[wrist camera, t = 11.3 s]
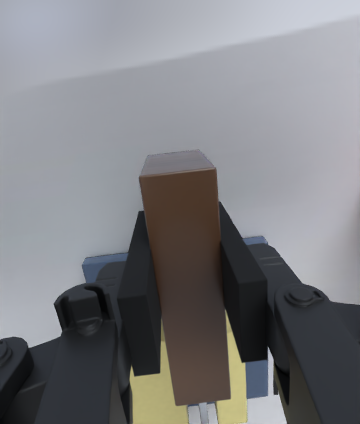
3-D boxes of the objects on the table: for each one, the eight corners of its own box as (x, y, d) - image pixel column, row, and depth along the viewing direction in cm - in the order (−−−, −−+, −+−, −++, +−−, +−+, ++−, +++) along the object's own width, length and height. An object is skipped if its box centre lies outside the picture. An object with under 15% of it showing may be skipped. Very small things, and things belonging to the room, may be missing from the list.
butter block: (116, 313, 19) (108, 348, 16) (174, 305, 19) (176, 339, 16) (135, 395, 22) (131, 438, 19) (186, 389, 22) (189, 430, 19)
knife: (146, 155, 13) (138, 176, 9) (199, 149, 13) (216, 167, 9) (189, 445, 19) (196, 536, 15) (223, 441, 19) (239, 530, 15)
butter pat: (203, 302, 19) (210, 335, 16) (232, 298, 19) (244, 330, 16) (211, 386, 22) (218, 426, 19) (237, 382, 22) (247, 422, 19)
